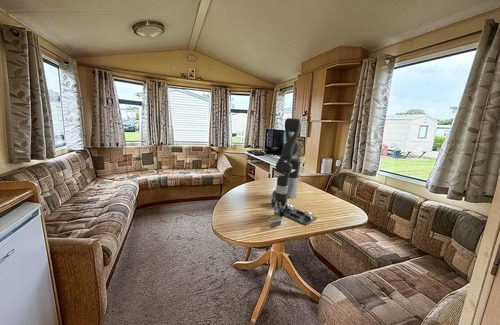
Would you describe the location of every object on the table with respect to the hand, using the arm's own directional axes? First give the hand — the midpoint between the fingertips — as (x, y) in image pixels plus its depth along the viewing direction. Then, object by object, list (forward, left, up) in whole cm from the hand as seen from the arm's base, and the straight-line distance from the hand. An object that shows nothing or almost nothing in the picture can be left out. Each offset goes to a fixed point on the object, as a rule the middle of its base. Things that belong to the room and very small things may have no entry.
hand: (278, 215), depth 144 cm
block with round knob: (0, 0, -1) cm, 1 cm away
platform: (+6, -12, -2) cm, 14 cm away
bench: (+8, +11, -1) cm, 14 cm away
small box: (-12, +16, -1) cm, 20 cm away
